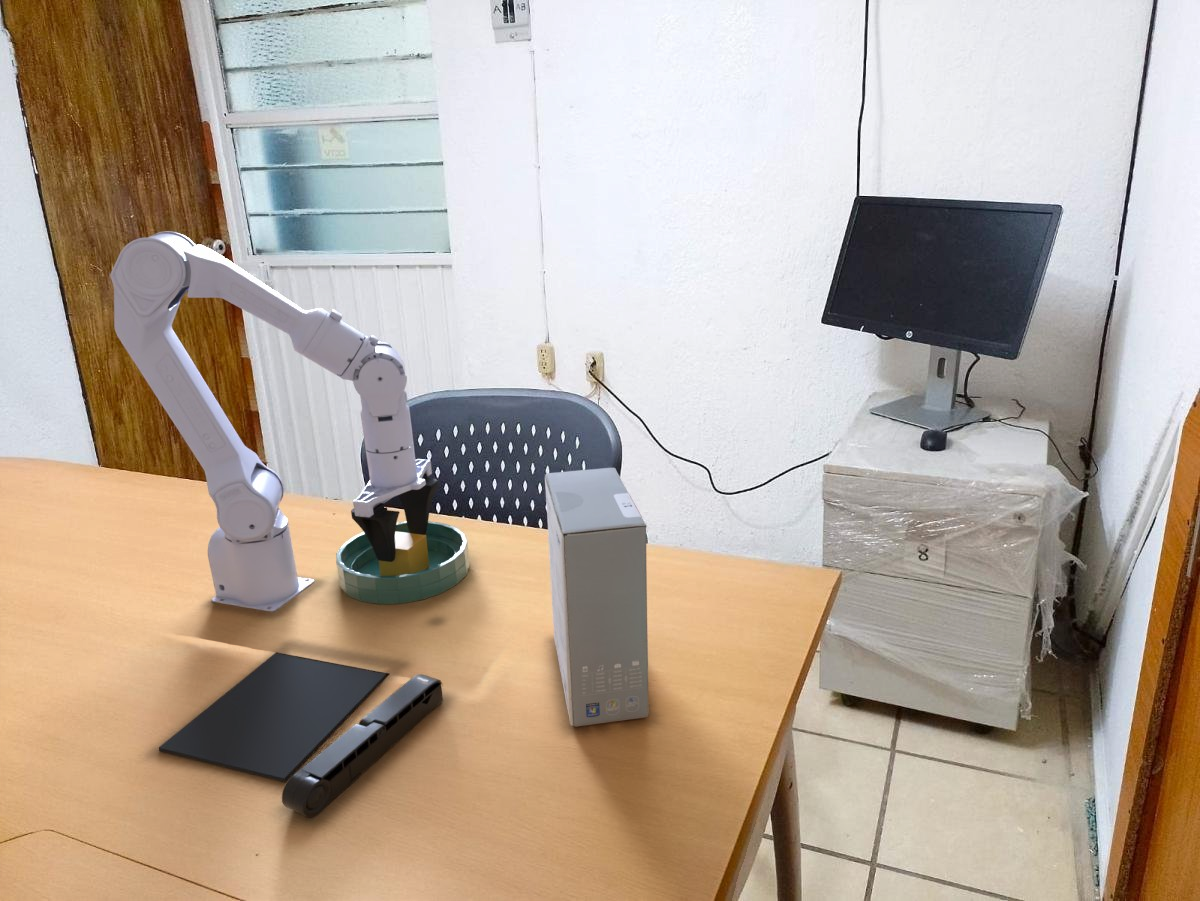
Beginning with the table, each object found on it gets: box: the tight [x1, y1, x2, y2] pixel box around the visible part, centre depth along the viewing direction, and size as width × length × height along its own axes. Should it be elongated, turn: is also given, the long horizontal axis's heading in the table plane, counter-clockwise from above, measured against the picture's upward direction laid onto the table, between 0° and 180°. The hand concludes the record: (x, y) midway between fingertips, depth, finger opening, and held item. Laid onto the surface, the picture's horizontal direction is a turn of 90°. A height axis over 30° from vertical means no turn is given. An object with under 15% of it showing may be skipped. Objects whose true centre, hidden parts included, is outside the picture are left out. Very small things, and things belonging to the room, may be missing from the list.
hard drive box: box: [544, 467, 649, 728], centre depth 81 cm, size 16×8×20 cm, turn 9°
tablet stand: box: [281, 673, 444, 818], centre depth 74 cm, size 18×3×3 cm, turn 152°
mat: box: [158, 651, 390, 783], centre depth 82 cm, size 14×18×1 cm
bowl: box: [335, 520, 471, 605], centre depth 106 cm, size 16×16×4 cm
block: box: [379, 531, 430, 576], centre depth 106 cm, size 4×4×4 cm
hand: (402, 546), depth 105 cm, fingers open, 7 cm apart
